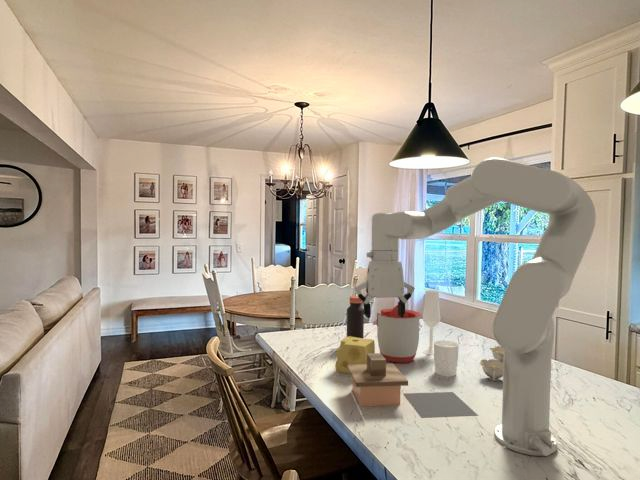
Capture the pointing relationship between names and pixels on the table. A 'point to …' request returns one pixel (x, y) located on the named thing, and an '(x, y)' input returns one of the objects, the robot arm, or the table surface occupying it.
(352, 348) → the cheese
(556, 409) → the table surface
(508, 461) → the table surface
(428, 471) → the table surface
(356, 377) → the lid
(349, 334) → the bottle
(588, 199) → the robot arm
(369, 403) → the salmon orange open box
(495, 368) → the chinaware
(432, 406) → the mat
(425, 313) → the champagne flute
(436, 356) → the white cup
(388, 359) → the citrus juicer
